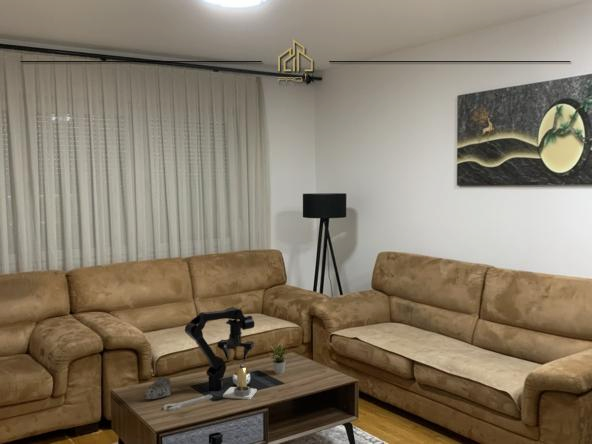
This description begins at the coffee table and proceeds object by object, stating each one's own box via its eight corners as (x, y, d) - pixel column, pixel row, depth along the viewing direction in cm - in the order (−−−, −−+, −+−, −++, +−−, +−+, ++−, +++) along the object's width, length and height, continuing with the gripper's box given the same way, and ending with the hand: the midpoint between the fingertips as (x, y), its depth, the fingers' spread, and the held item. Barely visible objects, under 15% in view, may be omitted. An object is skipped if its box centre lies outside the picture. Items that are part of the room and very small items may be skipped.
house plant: (264, 368, 324) (263, 340, 323) (288, 366, 326) (287, 338, 325) (267, 376, 310) (266, 347, 309) (292, 374, 312) (292, 345, 311)
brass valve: (236, 394, 282) (235, 366, 281) (239, 391, 286) (238, 363, 285) (244, 395, 280) (243, 366, 280) (248, 392, 285) (247, 363, 284)
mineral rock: (145, 402, 277) (144, 382, 276) (144, 394, 287) (144, 375, 286) (172, 399, 281) (172, 379, 280) (170, 391, 291) (170, 372, 290)
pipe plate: (222, 397, 282) (222, 390, 281) (230, 389, 293) (230, 382, 292) (249, 399, 278) (249, 392, 278) (256, 391, 289) (256, 384, 289)
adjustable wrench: (210, 397, 284) (210, 393, 284) (216, 401, 279) (216, 397, 278) (162, 408, 270) (162, 405, 270) (167, 413, 265) (167, 409, 264)
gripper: (213, 334, 294) (213, 364, 295) (247, 336, 290) (248, 366, 291) (220, 329, 305) (221, 357, 306) (254, 330, 300) (254, 359, 302)
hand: (236, 360), depth 301 cm, fingers open, 9 cm apart
